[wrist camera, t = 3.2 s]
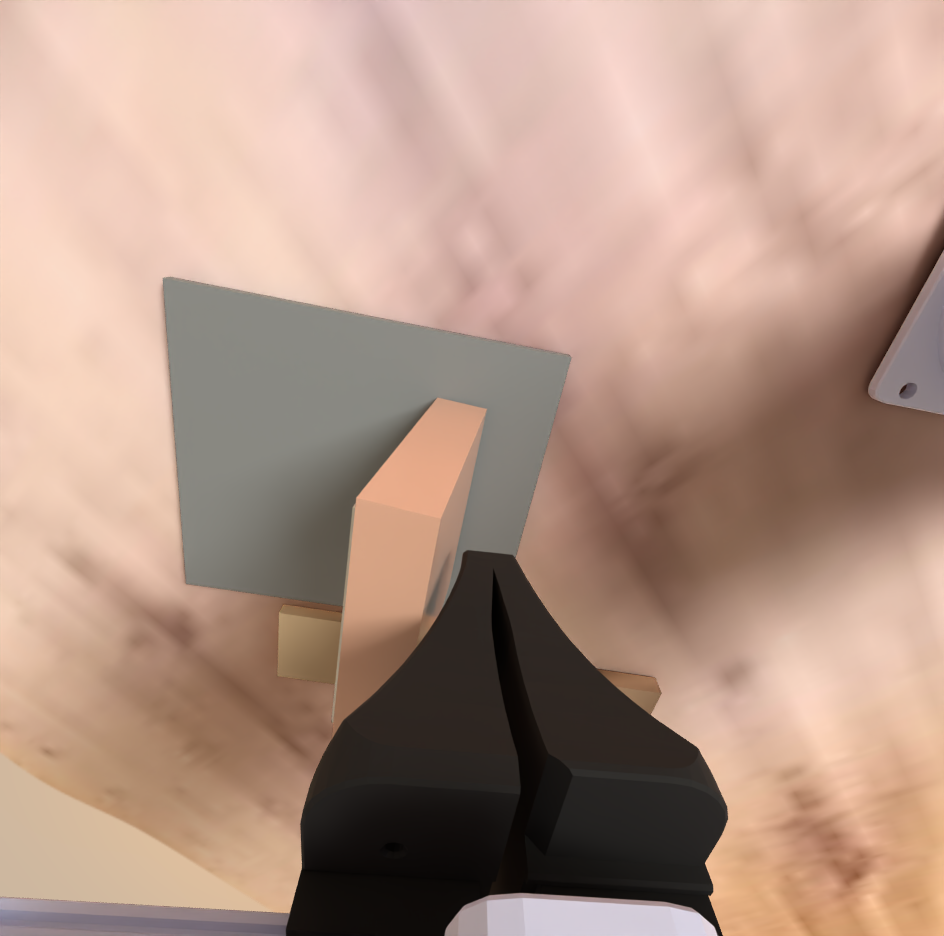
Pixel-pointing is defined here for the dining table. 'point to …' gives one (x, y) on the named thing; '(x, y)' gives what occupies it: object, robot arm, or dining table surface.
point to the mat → (331, 431)
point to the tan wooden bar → (317, 642)
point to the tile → (404, 549)
